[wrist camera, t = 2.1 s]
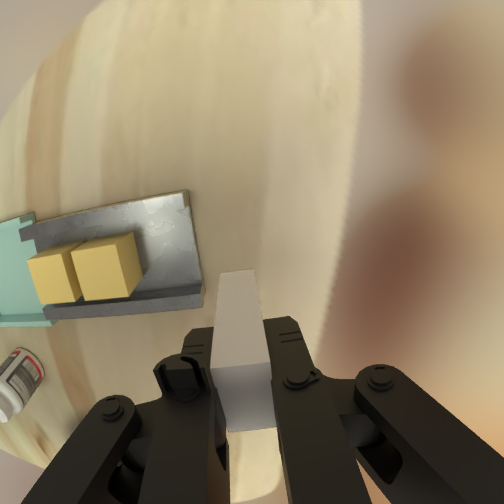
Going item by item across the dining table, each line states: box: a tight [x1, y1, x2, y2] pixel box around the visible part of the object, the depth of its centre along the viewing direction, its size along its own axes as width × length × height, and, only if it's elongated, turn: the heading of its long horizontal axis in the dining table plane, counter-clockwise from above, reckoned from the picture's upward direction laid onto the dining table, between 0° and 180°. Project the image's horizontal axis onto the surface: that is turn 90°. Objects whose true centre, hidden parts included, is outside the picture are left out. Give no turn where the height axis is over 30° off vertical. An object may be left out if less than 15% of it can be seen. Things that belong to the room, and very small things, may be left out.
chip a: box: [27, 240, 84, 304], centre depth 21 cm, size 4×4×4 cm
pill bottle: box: [0, 348, 44, 423], centre depth 22 cm, size 5×5×10 cm
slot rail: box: [18, 190, 206, 320], centre depth 23 cm, size 16×9×3 cm, turn 97°
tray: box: [0, 212, 59, 327], centre depth 22 cm, size 11×11×2 cm
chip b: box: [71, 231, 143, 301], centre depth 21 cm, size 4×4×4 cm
